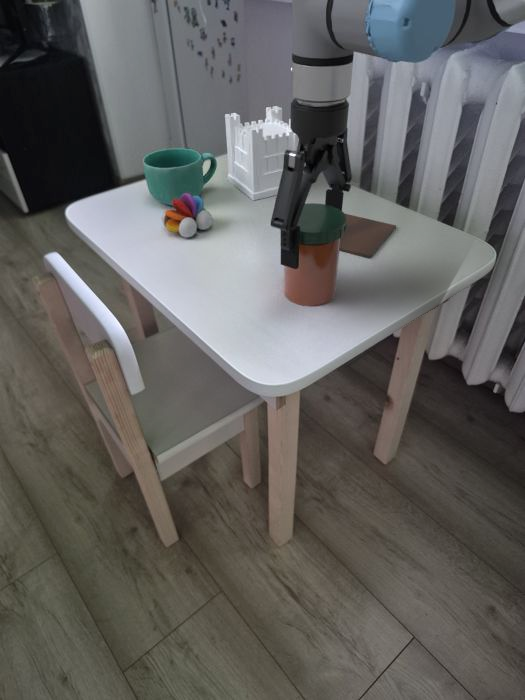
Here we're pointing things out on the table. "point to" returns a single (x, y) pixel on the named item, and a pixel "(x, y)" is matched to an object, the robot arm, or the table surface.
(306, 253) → the jar
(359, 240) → the coaster
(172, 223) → the rainbow fan wheeled toy
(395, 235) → the table surface
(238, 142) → the castle model
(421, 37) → the robot arm
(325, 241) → the lid
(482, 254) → the table surface
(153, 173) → the mug
